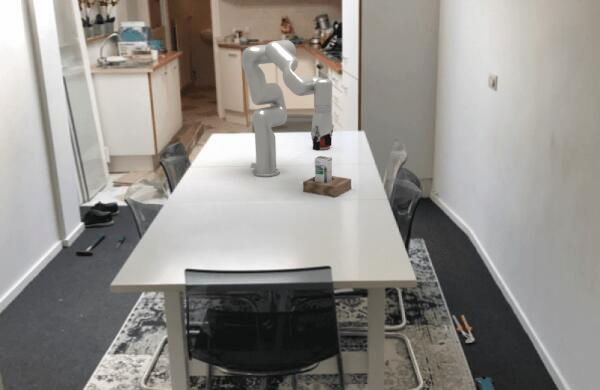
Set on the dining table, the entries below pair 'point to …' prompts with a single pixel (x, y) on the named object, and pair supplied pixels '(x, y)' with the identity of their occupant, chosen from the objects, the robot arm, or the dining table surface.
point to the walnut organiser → (327, 186)
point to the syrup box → (323, 169)
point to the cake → (323, 143)
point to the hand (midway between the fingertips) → (322, 147)
